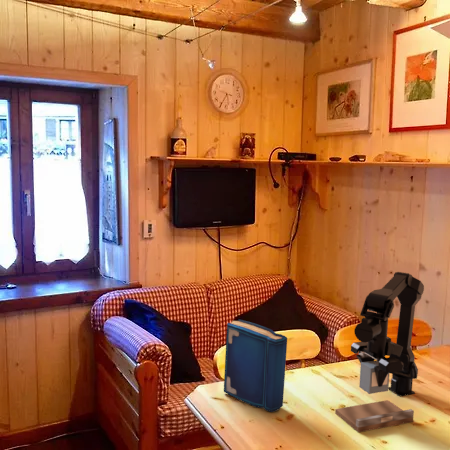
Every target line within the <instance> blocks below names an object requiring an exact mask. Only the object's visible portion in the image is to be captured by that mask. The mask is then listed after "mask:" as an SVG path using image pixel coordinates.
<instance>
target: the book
mask: <svg viewBox="0 0 450 450" xmlns="http://www.w3.org/2000/svg"><path fill="white" fill-rule="evenodd" d="M225 335H226V339H225V356H224V359H225V360H224V377H223V378H224V380H223V392H224V393H225V394H228V395H229V396H231V397H233V398H234V399H236V400H238V401H241V402H242V403H246V404H248V405H250V406H252V407H254V408H258V409H259V408H260V409H264V410H265V411H266V412H269V413H273V412H277V411H279V410H280V409H281V408H282V407H283V406H284V393H285V392H284V391H285V381H286V380H285V378H286V363H287V349H288V337H287V336H285V335H283V334H281V333H276V332H275V331H273V329H271V328H268V327H266V326H263V325H260V324H257V323H254V322H250V321H246V320H243V319H239V318H238V320H232V321H231V322H227V324H226V334H225Z"/></svg>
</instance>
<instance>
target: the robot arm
mask: <svg viewBox="0 0 450 450" xmlns="http://www.w3.org/2000/svg"><path fill="white" fill-rule="evenodd" d="M424 291H425V286H424V283H423V281H421V280H420V279H418V278H416V277H414V276H413V275H412V274H410V273H408V272H402V271H396V272H394V273H393V276H392V277H391V278H390V279H389V280H388V282H387V283H385V285H383V287H382V288H378V289H374V290H373V291H371V292H369V293H368V295H366V297H365V300H364V303H363V306H362V308H361V312H360V315H359V316H361V317H362V318H361V321H360V322H359V323H358V324H356V325H355V328H354V335H355V337H356V338H357V340H358V341H356V342H353V343H352V344H351V346H350V352H351V353H353V354H355V355H356V358H357V359H358V362H359V363H360V365H361V362H368V361H376V360H378V361H379V366H374V368H375V374H376V379H377V384H378V387H381V386H382V385H383V383H384V381H385V378H386V376H387V374H388V373H389V374H392V375H391V380H390V386H389V387H388V391H389V390H390V391H391V392H392V393H394V394H396V395H397V396H399V397H405V396H410V395H415V394H416V392H415V391H414V390H413V383H414V380H416V379H417V380H418V374H419V369H418V366H417V365H416V364H417V363H416V362H415V359H416V358H415V354H414V352H413V350H412V345H411V344H412V337H413V328H414V320H415V319H414V317H415V312H416V311H415V310H416V306H417V304H418V303H419V302H420V300H421V299H422V296H423V293H424ZM396 298H397V300H398V302H399V304H400V308H399V317H398V324H397V334H396V342H394V341H392V338H391V337H389V336H388V329H389V328H388V327H389V326H388V325H389V318H390V317H391V315H392V313H393V310H394V308H395V301H394V300H396ZM386 356H387V357H386Z"/></svg>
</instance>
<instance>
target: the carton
mask: <svg viewBox="0 0 450 450" xmlns="http://www.w3.org/2000/svg"><path fill="white" fill-rule="evenodd" d="M374 366H379V361H378V360H376V359H375V360H374V361H368V362H361V364H360V369H359V383H358V384H359V386H358V387H359V388H360V389H361V390H363V391H364V392H366V393H367V394H369V395H371V394H377V393H384V392H388V391H389V389H388V387H390V386H389V384H390V383H389V382H390V373H388V374H387V376H386V378H385V381H384V383H383V385H382V386H381V387H378V384H377V379H376V374H375V368H374Z"/></svg>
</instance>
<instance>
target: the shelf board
mask: <svg viewBox="0 0 450 450" xmlns="http://www.w3.org/2000/svg"><path fill="white" fill-rule="evenodd" d="M334 413H335V415H337V416H338V417H339V418H340V419H341V420H342V421H343V422H345V423H346V424H347V425H349V427H351V428H352V429H353V430H354V431H356V432H357V433H362V432H366V431H372V430H377V429H382V428H387V427H393V426H397V425H404V424H409V423H413V422H414V413H415V412H414V410H413V409H411V408H410V409H409V408H408V409H405V410H403V409H402V408H401V407H399V406H398V405H396V404H394V403H393V402H391V401H390V400H388V399H385V400H380V401H375V402H369V403H363V404H357V405H351V406H345V407H338V408H335V411H334Z"/></svg>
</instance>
